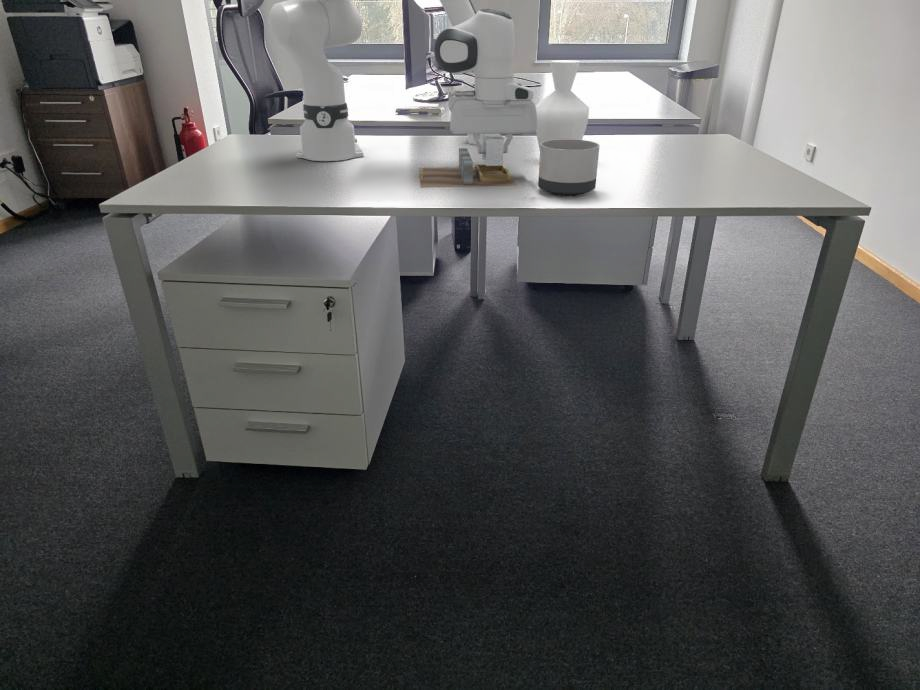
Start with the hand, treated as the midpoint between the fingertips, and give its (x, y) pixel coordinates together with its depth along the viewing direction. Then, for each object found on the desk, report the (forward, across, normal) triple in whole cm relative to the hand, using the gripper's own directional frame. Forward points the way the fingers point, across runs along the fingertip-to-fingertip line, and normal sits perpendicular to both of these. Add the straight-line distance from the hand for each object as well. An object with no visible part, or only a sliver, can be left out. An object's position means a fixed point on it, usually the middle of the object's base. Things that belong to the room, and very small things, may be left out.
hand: (492, 153), depth 146 cm
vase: (+7, +20, +20) cm, 29 cm away
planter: (+7, +16, -12) cm, 21 cm away
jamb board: (+6, -6, 0) cm, 9 cm away
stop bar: (+2, 0, 0) cm, 2 cm away
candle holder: (+7, +2, +50) cm, 51 cm away
